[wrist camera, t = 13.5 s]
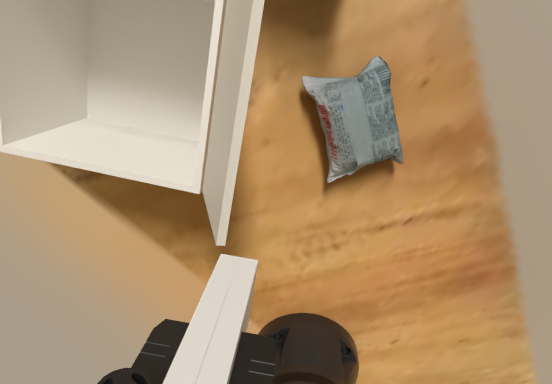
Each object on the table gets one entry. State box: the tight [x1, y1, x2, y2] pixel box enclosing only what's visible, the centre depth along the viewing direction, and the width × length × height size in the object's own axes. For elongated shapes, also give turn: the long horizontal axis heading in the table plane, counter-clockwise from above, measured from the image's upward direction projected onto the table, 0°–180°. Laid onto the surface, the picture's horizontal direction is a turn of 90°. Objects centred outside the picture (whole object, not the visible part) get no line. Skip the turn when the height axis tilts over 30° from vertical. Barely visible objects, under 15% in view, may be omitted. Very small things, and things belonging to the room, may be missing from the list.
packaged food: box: [302, 56, 403, 183], centre depth 41 cm, size 9×12×5 cm
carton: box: [0, 0, 227, 194], centre depth 37 cm, size 16×18×14 cm
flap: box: [203, 0, 265, 246], centre depth 26 cm, size 15×8×1 cm
